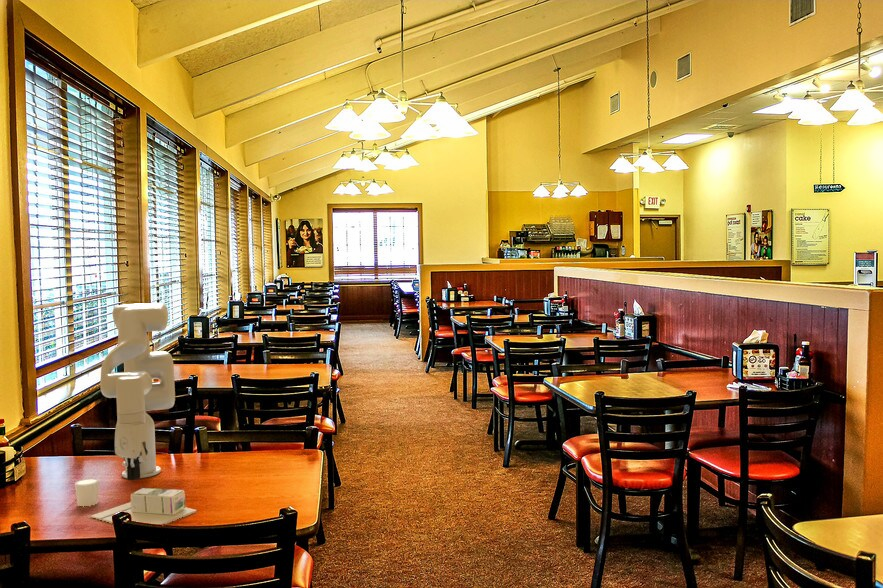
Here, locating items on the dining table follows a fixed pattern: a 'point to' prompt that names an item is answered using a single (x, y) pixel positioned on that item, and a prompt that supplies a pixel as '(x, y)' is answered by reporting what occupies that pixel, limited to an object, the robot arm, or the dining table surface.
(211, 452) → the dining table surface
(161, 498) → the syrup box
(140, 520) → the mat
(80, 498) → the white short cylinder
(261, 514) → the dining table surface
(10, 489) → the dining table surface
